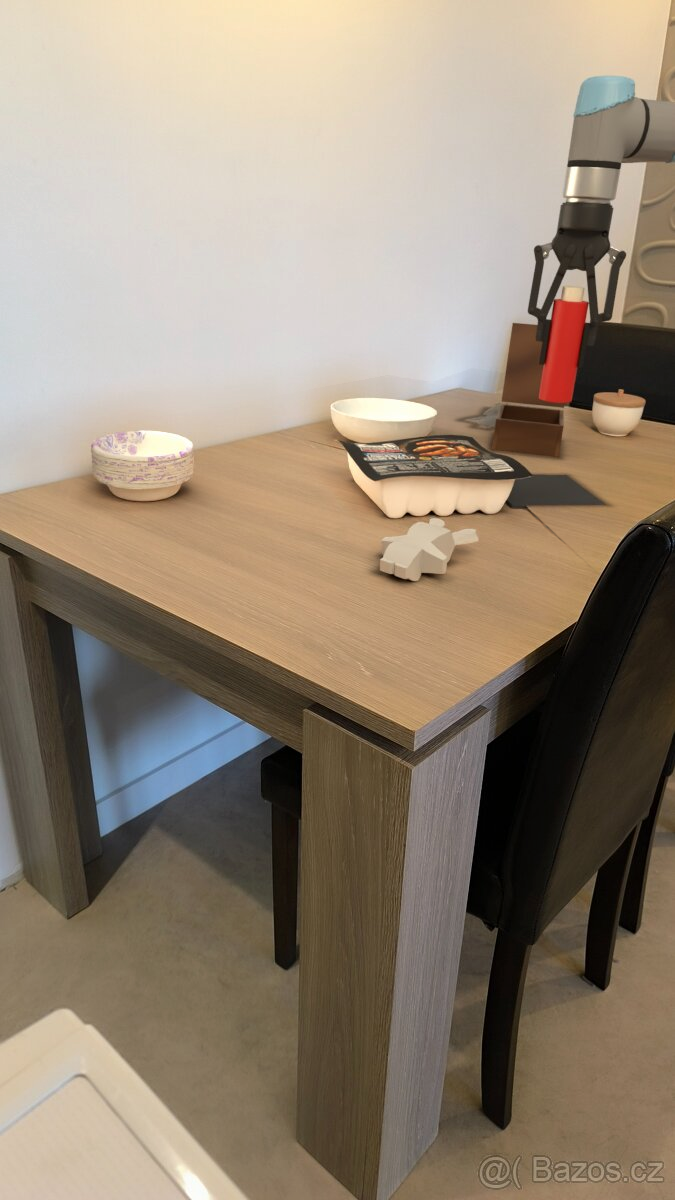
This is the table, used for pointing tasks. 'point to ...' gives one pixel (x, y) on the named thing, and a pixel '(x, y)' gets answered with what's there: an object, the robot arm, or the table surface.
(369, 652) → the table surface
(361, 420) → the serving bowl
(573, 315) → the ketchup
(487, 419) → the cloth
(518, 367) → the chest lid
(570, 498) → the mat
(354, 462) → the food packaging
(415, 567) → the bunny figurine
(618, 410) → the trinket box
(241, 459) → the table surface
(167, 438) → the paper bowls
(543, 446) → the chest
